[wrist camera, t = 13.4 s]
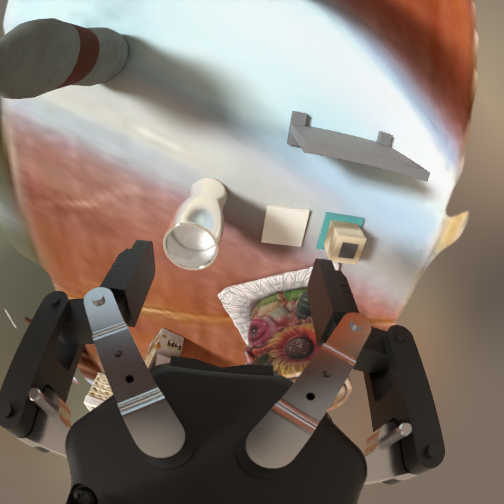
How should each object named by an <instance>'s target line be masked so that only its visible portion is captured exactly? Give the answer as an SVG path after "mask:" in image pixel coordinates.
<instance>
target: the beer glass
mask: <svg viewBox="0 0 504 504" xmlns="http://www.w3.org/2000/svg"><path fill="white" fill-rule="evenodd" d="M226 201H227V191H226V189H225V187H224V186H223V184H222V183H221V182H219V181H218V180H216V179H213V178H203V179H200V180H198V181H196V182H195V183H194V184H193V185H192V187H191V189H190V196H189V198H187V199H186V200H185V201H184V202H183V203H182V204H181V205H180V206H179V207H178V208H177V210H176V211H175V213H174V214H173V216H172V218H171V220H170V222H169V225H168V228H167V231H166V234H165V236H164V238H163V249H164V252H165V254H166V256H167V257H168V258H169V260H170V261H171V262H173V263H174V264H175V265H177V266H179V267H181V268H183V269H187V270H201V269H204V268H206V267H208V266H210V265H211V264H212V263H213V262H214V261H215V259H216V258H217V255H218V251H219V248H220V245H221V242H222V238H223V232H224V216H223V210H222V208H223V207H224V205H225V203H226Z"/></svg>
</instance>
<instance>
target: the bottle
mask: <svg viewBox="0 0 504 504" xmlns="http://www.w3.org/2000/svg"><path fill="white" fill-rule="evenodd" d="M128 49H129V48H128V45H127V42H126V40H125V39H124V38H123V37H122V36H121V35H120V34H119V33H117V32H115V31H113V30H111V29H109V28H84V27H81V26H77V25H74V24H70V23H66V22H63V21H60V20H57V19H54V18H50V19H37V20H32V21H28V22H25V23H22V24H20V25H18V26H17V27H15V28H14V29H12V30H11V31H10V32H8V33H7V34H6V35H4V36H3V37H2V38H1V39H0V95H1V96H2V97H4V98H10V99H22V98H32V97H36V96H39V95H41V94H44V93H46V92H49V91H52V90H55V89H58V88H61V87H65V86H68V85H81V86H92V85H96V84H99V83H102V82H105V81H107V80H109V79H110V78H112V77H114V76H115V75H117V74H118V73H119V72H120V71H121V70H122V68H123V67H124V65H125V63H126V61H127V58H128Z"/></svg>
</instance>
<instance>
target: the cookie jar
mask: <svg viewBox="0 0 504 504" xmlns="http://www.w3.org/2000/svg"><path fill="white" fill-rule="evenodd" d="M333 265H334V268H335V270H337V271H339V263H338V262H333ZM312 268H313V266H312V267H309V268H307V269H303V270H298V271H290V272H285V273H282V274H278V275H274V276H270V277H266V278H262V279H258V280H254V281H250V282H246V283H242V284H238V285H231V286H228V287H226V288H224V289H223V290H222V292H220V293H219V294H218V297H219V298H220V300H221V302H222V304H223V307H224V308H225V310H226V311H227V313H228V314H230V317H231V318H232V319H233V322H234V325H235V326H236V327H237V329H238V330H239V332H240V334H241V335H242V338H243V340H244V341H245V342H246V344H247V347H246V349H245V351H244V354H245V357H246V360H247V361H246V362H245V365H247V364H252V365H269V366H273V371H274V373H276V374H279V375H281V376H284V377H286V378H288V379H289V380H291V381H292V382H295V381H296V379H297V378H298V377H299V376H300V374H301V373H302V372H303V370H304V369H305V368H306V366H307V365H308V364H309V362H310V361H311V360H312V358H313V357H314V356H315V354H316V353H317V352H318V350H319V349H320V348H321V346H317V342H316V337H315V331H314V326H313V321H312V315H311V310H310V305H309V300H308V295H307V285H308V281H309V278H310V275H311V272H312ZM352 388H353V386H352V383H351V380H350V377H349V376H348V378H347V379H346V381H345V383H344V384H343V386H342V388H341V389H340V391H339V393H338V394H337V396H336V398H335V399H334V401H333V402H332V404H331V406H330V407H329V409H330V408H331V407H333V406H335V405H338V404H340V403H341V402H342V401H344V400H345V399H346V398H347V396H348V395H349V394H350V393H351V391H352ZM325 415H326V416H327V417H328V418H329V419H330V420H331V421H332V419H331V418H330V416H329V415H328V413H327V412H326V413H325ZM332 422H333V421H332Z"/></svg>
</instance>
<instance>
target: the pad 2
mask: <svg viewBox="0 0 504 504" xmlns="http://www.w3.org/2000/svg"><path fill="white" fill-rule="evenodd" d="M331 220H336V221H343V222H349V223H356V224H358V226H359V227H360V229H361V227H362V224H363V221H364V219H363V218H361V217H355V216H348V215H342V214H336V213H329V212H326V214H325V218H324V222H323V225H322V229H321V232H320V236H319V239H318V243H317V246H316V247H317V249H325V247H324V242H325V238H326V235H327V232H328V228H329V225H330V221H331Z"/></svg>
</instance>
